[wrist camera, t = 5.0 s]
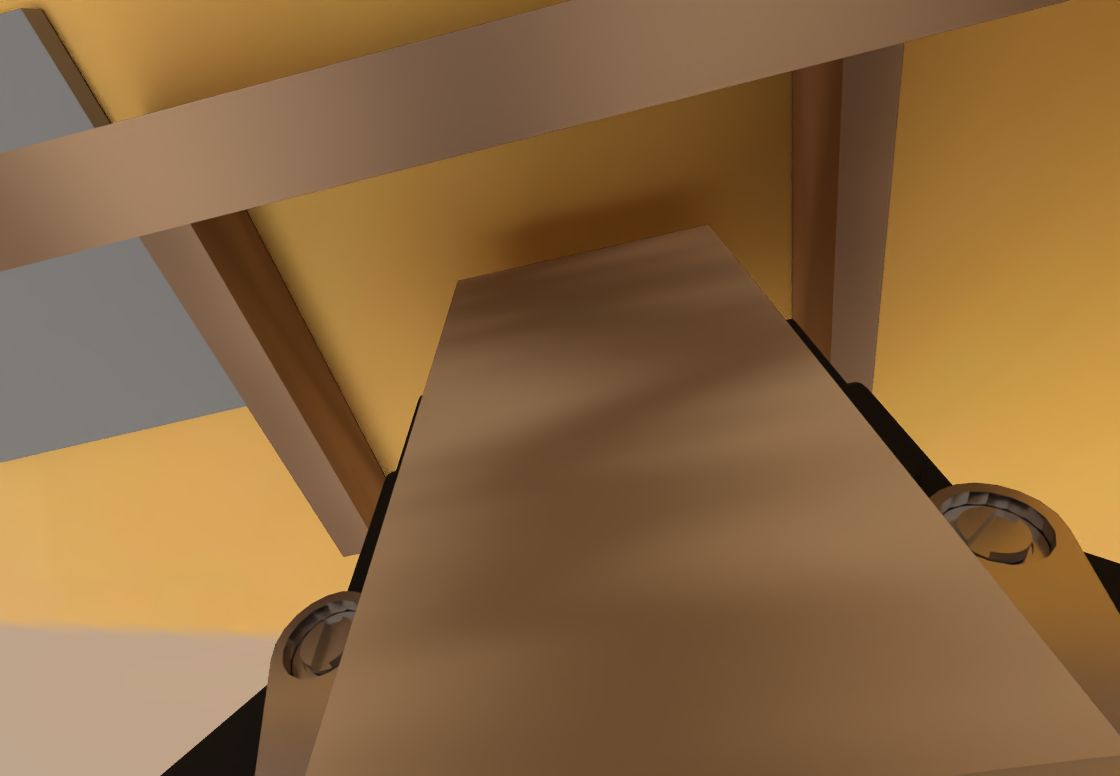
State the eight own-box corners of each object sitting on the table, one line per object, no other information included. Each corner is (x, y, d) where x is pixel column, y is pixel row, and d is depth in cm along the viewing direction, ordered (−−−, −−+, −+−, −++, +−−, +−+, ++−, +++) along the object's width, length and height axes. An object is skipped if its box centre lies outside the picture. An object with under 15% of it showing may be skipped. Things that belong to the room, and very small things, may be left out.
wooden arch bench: (848, -69, 12) (1248, -183, 6) (828, 400, 19) (999, 605, 12) (144, 120, 13) (-234, 216, 7) (361, 501, 20) (284, 740, 13)
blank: (709, 224, 11) (1264, 913, 3) (724, 426, 14) (1020, 1085, 5) (457, 280, 11) (229, 1016, 3) (521, 466, 14) (495, 1125, 6)
